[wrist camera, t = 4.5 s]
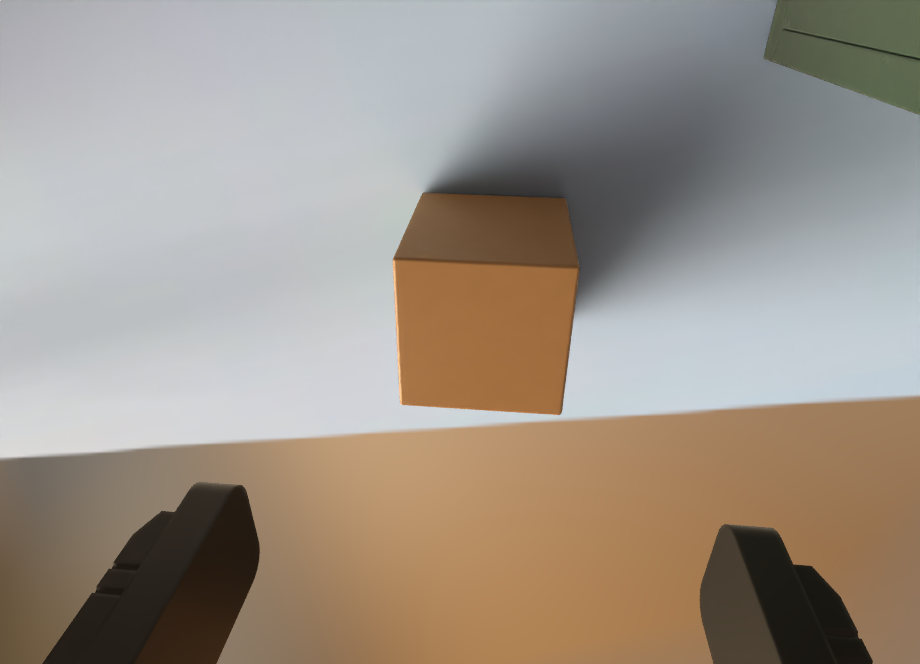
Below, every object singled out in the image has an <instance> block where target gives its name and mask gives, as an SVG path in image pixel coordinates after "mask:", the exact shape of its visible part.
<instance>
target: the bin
mask: <svg viewBox="0 0 920 664" xmlns="http://www.w3.org/2000/svg"><path fill="white" fill-rule="evenodd" d="M764 59H766V60H769V61H771V62H774V63H777V64H780V65H783V66H785V67H788V68H791V69H794V70H796V71H799V72H802V73H805V74H807V75H810V76H813V77H816V78H819V79H821V80H824V81H827V82H830V83H832V84H835V85H838V86H841V87H843V88H846V89H849V90H852V91H855V92H857V93H860V94H863V95H866V96H868V97H871V98H874V99H877V100H879V101H882V102H885V103H888V104H891V105H893V106H896V107H899V108H902V109H904V110H907V111H910V112H913V113H915V114H918V115H920V0H778V2H777V6H776V10H775V14H774V18H773V22H772V26H771V30H770V34H769V38H768V42H767V46H766V50H765V54H764Z"/></svg>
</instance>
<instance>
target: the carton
mask: <svg viewBox="0 0 920 664" xmlns="http://www.w3.org/2000/svg"><path fill="white" fill-rule="evenodd" d="M579 271H580V267H579V262H578V257H577V252H576V246H575V241H574V236H573V231H572V226H571V221H570V216H569V211H568V206H567V201H566V199H565V198H547V197H521V196H496V195H470V194H445V193H422V195H421V197H420V200H419V202H418V204H417V206H416V209H415V211H414V213H413V215H412V218H411V220H410V222H409V224H408V227H407V229H406V231H405V233H404V236H403V238H402V240H401V242H400V245H399V247H398V249H397V251H396V254H395V256H394V258H393V273H394V293H395V312H396V332H397V352H398V372H399V392H400V403H401V404H402V405H412V406H428V407H444V408H459V409H475V410H491V411H506V412H522V413H538V414H553V415H560V414H561V413H562V407H563V399H564V391H565V383H566V375H567V367H568V359H569V351H570V343H571V335H572V327H573V319H574V311H575V303H576V295H577V287H578V279H579Z"/></svg>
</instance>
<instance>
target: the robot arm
mask: <svg viewBox="0 0 920 664" xmlns="http://www.w3.org/2000/svg"><path fill="white" fill-rule="evenodd" d="M259 553H260V549H259V541H258V537H257V533H256V528H255V524H254V520H253V517H252V512H251V508H250V504H249V499H248V496H247V492H246V489H245V488H244V487H243V486H242V485H230V484H219V483H205V482H199V483H196V484H195V485H193V487H191V489H190V490H189V491H188V493H187V494H186V496H185V498H184V499H183V501H182V502H181V504H180V505H179V507H178V508H177V510H176V511H175V512H166V511H161V512H160V513H159V514H158V515H156V516H155V517H154V518H153V519H152V520H150V521H149V522H148V523H147V524H145V525H144V526H143V527H142V528H140V529H139V530H138V531H137V532H136V533H134V534H133V536H132V537H131V538H130V540H129V541H128V542H127V544H126V545H125V547H124V548H123V550H122V551H121V552H120V554H119V555H118V557H117V558H116V560H115V561H114V563H113V567H112V569H108V571H107V573H106V574H105V575H104V577H103V578H102V579H101V581H100V582H99V584H98V585H97V589H96V592H95V593H92V594H91V595H90V597H89V598H88V599H87V601H86V602H85V604H84V605H83V607H82V608H81V609H80V611H79V612H78V614H77V615H76V617H75V618H74V619H73V621H72V622H71V624H70V625H69V627H68V628H67V629H66V631H65V632H64V634H63V635H62V637H61V638H60V639H59V641H58V642H57V644H56V645H55V646H54V648H53V649H52V651H51V652H50V654H49V655H48V656H47V658H46V659H45V661H44V662H43V664H216V663H217V661H218V659H219V657H220V654H221V652H222V650H223V648H224V645H225V643H226V641H227V639H228V637H229V634H230V632H231V630H232V628H233V625H234V623H235V621H236V619H237V616H238V614H239V612H240V610H241V608H242V605H243V603H244V601H245V599H246V596H247V594H248V592H249V590H250V587H251V585H252V583H253V580H254V578H255V575H256V571H257V567H258V563H259ZM700 610H701V617H702V622H703V626H704V630H705V634H706V637H707V641H708V645H709V648H710V652H711V656H712V659H713V663H714V664H872V662H873V661H872V659H871V657H870V655H869V653H868V651H867V649H866V647H865V645H864V643H863V641H862V639H859V638H858V631H857V629H856V627H855V625H854V623H853V621H852V619H851V618H850V615H849V613H848V611H847V609H846V607H845V605H844V603H843V601H842V599H841V597H840V596H839V595H838V594H837V593H836V592H835V591H834V590H833V589H832V587H831V586H830V585H829V584H828V583H827V582H826V581H825V580H824V579H823V578H822V577H821V576H820V575H819V574H818V573H817V571H816V570H815V569H814V568H813V567H812V566H804V565H793V563H792V561H791V559H790V556H789V554H788V552H787V550H786V547H785V545H784V543H783V541H782V539H781V537H780V535H779V534H778V532H777V531H776V530H774V529H773V528H765V527H753V526H740V525H727V524H725V525H723V526H721V528H720V529H719V532H718V535H717V538H716V541H715V544H714V547H713V550H712V553H711V556H710V559H709V562H708V565H707V568H706V571H705V574H704V577H703V580H702V583H701V589H700Z"/></svg>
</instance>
